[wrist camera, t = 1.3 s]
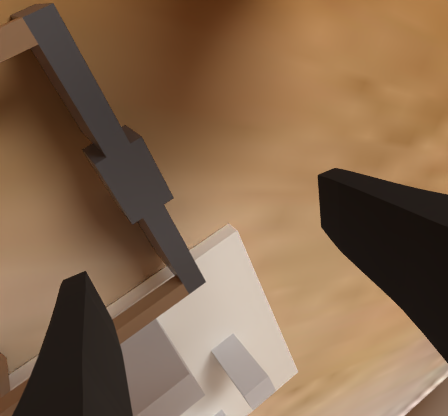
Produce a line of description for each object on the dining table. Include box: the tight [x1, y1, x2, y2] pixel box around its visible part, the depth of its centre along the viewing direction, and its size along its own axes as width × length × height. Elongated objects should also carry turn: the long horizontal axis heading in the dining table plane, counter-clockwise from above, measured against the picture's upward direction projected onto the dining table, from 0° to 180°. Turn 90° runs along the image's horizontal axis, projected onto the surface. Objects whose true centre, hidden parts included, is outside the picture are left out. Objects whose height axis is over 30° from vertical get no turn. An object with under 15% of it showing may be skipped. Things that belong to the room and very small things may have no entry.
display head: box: [9, 223, 298, 416], centre depth 24 cm, size 16×16×6 cm
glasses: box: [0, 3, 206, 416], centre depth 16 cm, size 12×13×4 cm
